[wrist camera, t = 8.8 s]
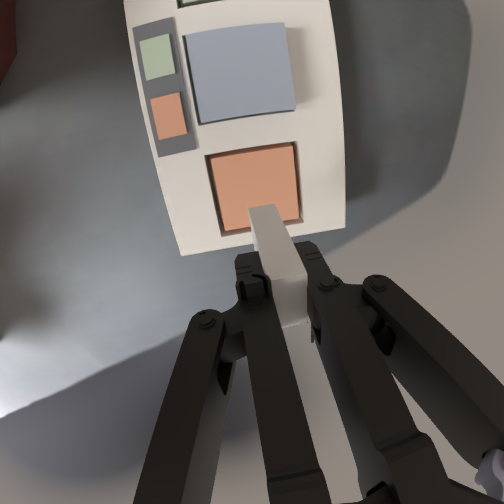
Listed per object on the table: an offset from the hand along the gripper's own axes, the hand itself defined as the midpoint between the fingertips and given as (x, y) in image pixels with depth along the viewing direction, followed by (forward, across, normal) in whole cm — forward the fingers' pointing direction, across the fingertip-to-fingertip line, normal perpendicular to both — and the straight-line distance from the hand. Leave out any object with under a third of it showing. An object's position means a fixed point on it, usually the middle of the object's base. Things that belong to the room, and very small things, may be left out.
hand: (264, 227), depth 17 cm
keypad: (+10, 0, +9) cm, 14 cm away
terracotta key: (+8, +1, 0) cm, 9 cm away
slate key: (+6, 0, +9) cm, 11 cm away
